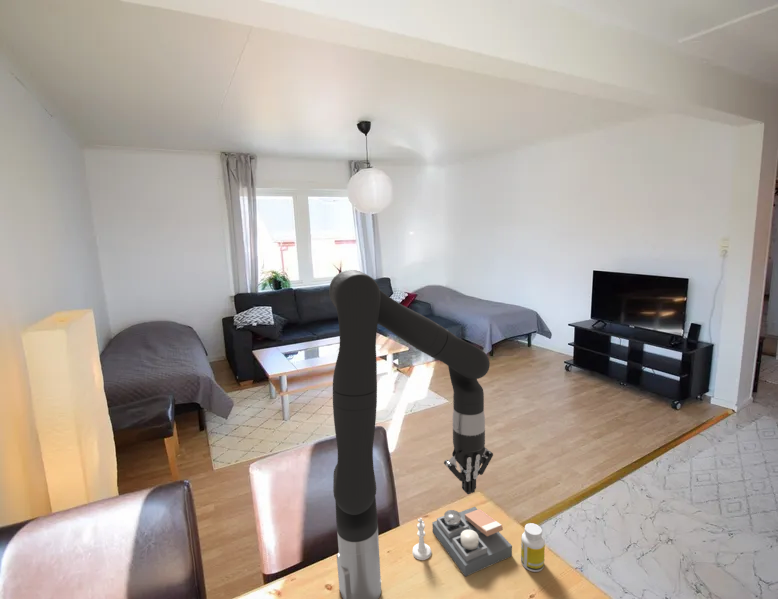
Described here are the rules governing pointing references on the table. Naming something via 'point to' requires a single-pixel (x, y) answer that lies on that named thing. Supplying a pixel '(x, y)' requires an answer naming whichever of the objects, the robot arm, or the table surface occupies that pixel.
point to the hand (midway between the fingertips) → (469, 491)
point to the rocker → (483, 522)
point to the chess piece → (421, 544)
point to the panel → (479, 558)
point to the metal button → (452, 519)
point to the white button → (469, 539)
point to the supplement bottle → (532, 548)
